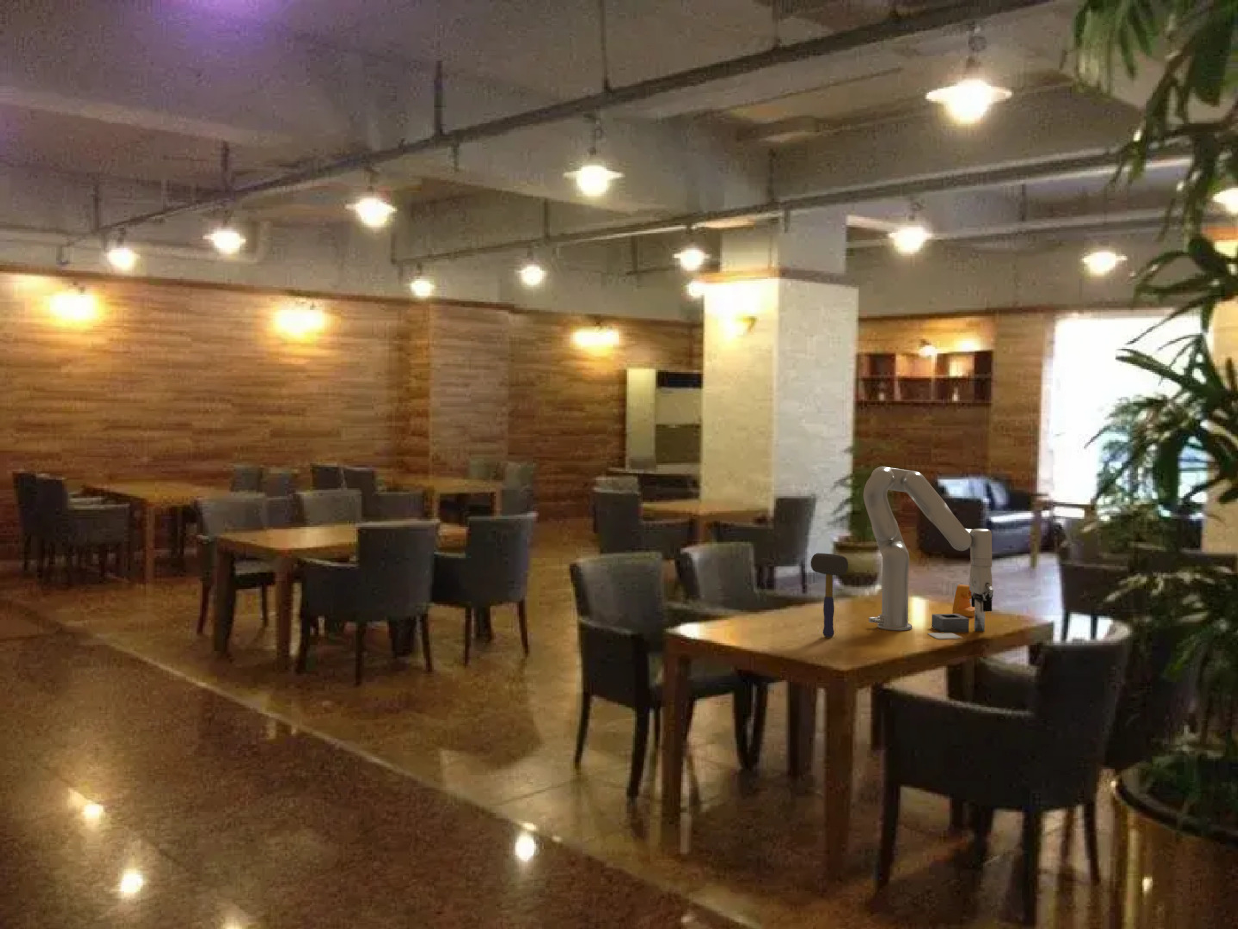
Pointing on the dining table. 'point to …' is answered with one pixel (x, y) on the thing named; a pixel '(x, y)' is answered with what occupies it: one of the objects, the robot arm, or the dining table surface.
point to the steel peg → (979, 613)
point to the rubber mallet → (829, 583)
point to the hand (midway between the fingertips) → (981, 609)
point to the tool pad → (944, 635)
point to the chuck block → (950, 623)
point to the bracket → (963, 601)
